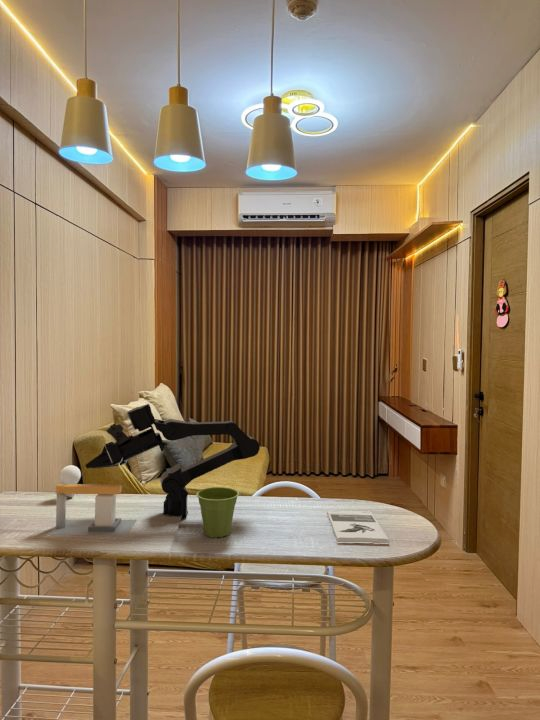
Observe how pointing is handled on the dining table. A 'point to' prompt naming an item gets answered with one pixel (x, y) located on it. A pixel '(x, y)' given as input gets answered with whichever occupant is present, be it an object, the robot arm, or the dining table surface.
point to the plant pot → (217, 510)
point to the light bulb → (70, 476)
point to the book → (356, 527)
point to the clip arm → (88, 489)
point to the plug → (105, 509)
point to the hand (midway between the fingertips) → (88, 466)
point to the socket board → (85, 523)
